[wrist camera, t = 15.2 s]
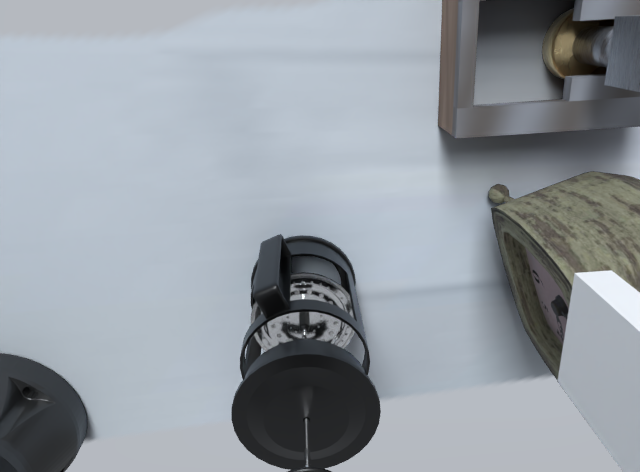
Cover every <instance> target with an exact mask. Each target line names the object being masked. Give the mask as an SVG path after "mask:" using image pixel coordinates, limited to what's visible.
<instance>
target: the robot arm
mask: <svg viewBox="0 0 640 472" xmlns="http://www.w3.org/2000/svg"><path fill="white" fill-rule="evenodd" d="M558 383H559V384H560V386H561V387H562V388H563V390H564V391H565V393H566V394H567V395H568V397H569V398H570V399H571V401H572V402H573V404H574V405H575V406H576V408H577V409H578V410H579V412H580V413H581V414H582V416H583V417H584V419H585V420H586V421H587V423H588V424H589V426H590V427H591V428H592V430H593V431H594V432H595V434H596V435H597V436H598V438H599V439H600V440H601V442H602V444H603V445H604V446H605V448H606V449H607V450H608V452H609V453H610V454H611V456H612V457H613V459H614V460H615V461H616V463H617V464H618V466H619V467H620V468H621V470H622V471H623V472H640V292H638V291H637V290H636V289H635V288H633V287H632V286H631V285H629V284H628V283H627V282H626V281H624V280H623V279H622V278H621V277H619V276H618V275H617V274H616V273H614V272H613V271H612V270H610V271H596V272H581V273H575V274H574V280H573V286H572V293H571V299H570V305H569V312H568V318H567V324H566V331H565V337H564V343H563V349H562V356H561V362H560V368H559V375H558ZM86 431H87V418H86V413H85V409H84V407H83V404H82V402H81V400H80V398H79V397H78V395H77V394H76V392H75V391H74V390H73V389H72V387H71V386H70V385H69V384H68V383H67V382H66V381H65V380H63V379H62V378H61V377H60V376H59V375H57V374H56V373H54V372H53V371H51V370H50V369H48V368H46V367H44V366H43V365H41V364H38V363H36V362H34V361H31V360H28V359H25V358H22V357H18V356H14V355H8V354H0V472H64V471H65V470H66V469H67V468H68V467H69V466H70V464H71V463H72V462H73V460H74V459H75V457H76V455H77V453H78V451H79V449H80V447H81V445H82V443H83V441H84V439H85V436H86Z"/></svg>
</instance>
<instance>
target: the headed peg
mask: <svg viewBox="0 0 640 472" xmlns="http://www.w3.org/2000/svg"><path fill="white" fill-rule="evenodd" d="M573 13H574V9H571V10H568V11H566V12H565V13H563V14H561V15H560V16H559V17H558V18H557V19H556V20H555V21H554V22H553V23H552V24H551V26H550V27H549V29H548V31H547V32H546V35H545V37H544V41H543V46H542V55H543V60H544V63H545V65H546V67H547V68H548V70H549V71H550V72H551V73H552V74H553V75H555V76H557V77H559V78H562V79H565V76H576V75H591V74H606V77H605V84H604V85H607V86H612V87H617V88H622V89H627V90H632V91H637V92H640V15H630V16H615V19H602V20H586V21H572V20H573Z"/></svg>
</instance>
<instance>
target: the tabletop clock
mask: <svg viewBox="0 0 640 472" xmlns="http://www.w3.org/2000/svg"><path fill="white" fill-rule="evenodd" d="M489 198H490V199H491V200H492V202H494V203H503V202H506V203H504V204H501V205H498V206H496V207H493V208H491V211H492V219H493V224H494V229H495V233H496V237H497V240H498V244H499V248H500V252H501V256H502V260H503V263H504V267H505V271H506V274H507V277H508V280H509V284H510V287H511V290H512V293H513V297H514V300H515V303H516V306H517V309H518V312H519V315H520V318H521V320H522V323H523V325H524V328H525V330H526V332H527V334H528V336H529V338H530V339H531V341H532V343H533V345H534V346H535V348H536V349H537V351H538V353H539V354H540V356H541V357H542V359H543V360H544V362H545V363H546V365H547V366H548V368H549V369H550V371H551V372H552V373H553V375H554V376H555V378H556V379H557V381H558V375H559V368H560V362H561V356H562V349H563V343H564V337H565V331H566V324H567V318H568V312H569V305H570V299H571V293H572V286H573V280H574V274H575V273H581V272H596V271H610V270H612V271H613V272H614V273H616V274H617V275H618V276H619V277H621V278H622V279H623V280H624V281H626V282H627V283H628V284H629V285H631V286H632V287H633V288H635V289H636V290H637V291H638V292H640V180H639V179H636V178H634V177H630V176H625V175H618V174H610V173H601V172H593V171H591V172H587V173H583V174H581V175H578V176H575V177H573V178H570V179H567V180H565V181H562V182H559V183H557V184H554V185H551V186H549V187H546V188H543V189H541V190H538V191H536V192H533V193H530V194H528V195H525V196H522V197H520V198H517V199H513V198H511V197H509V190H508V189H507V187H506V186H504V185H500V184H496V185H495V186H493V187H491V189H490V191H489Z"/></svg>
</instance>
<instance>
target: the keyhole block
mask: <svg viewBox="0 0 640 472" xmlns="http://www.w3.org/2000/svg"><path fill="white" fill-rule="evenodd" d="M479 1H484V0H442V25H441V54H440V82H439V111H438V126H440V127H441V128H442V129H444V130H445V131H446V132H448V133H449V134H451V135H452V136H453V137H455V138H470V137H485V136H501V135H516V134H531V133H546V132H562V131H577V130H592V129H607V128H623V127H638V126H640V92H637V91H632V90H627V89H622V88H617V87H612V86H607V85H604V84H605V77H606V74H591V75H576V76H565V83H564V90H563V98H562V99H560V100H544V101H529V102H513V103H498V104H482V105H473V99H474V83H475V67H476V50H477V34H478V18H479ZM630 15H640V0H575V5H574V13H573V20H572V21H586V20H602V19H615V16H630Z"/></svg>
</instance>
